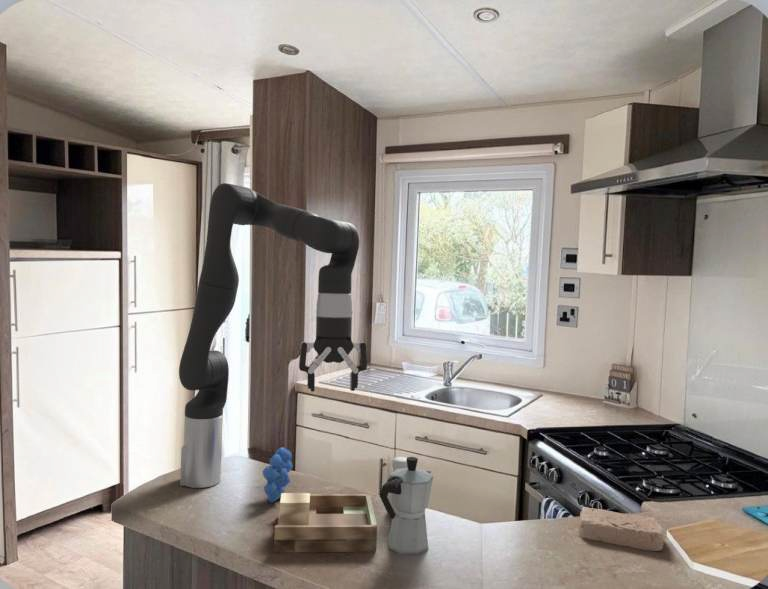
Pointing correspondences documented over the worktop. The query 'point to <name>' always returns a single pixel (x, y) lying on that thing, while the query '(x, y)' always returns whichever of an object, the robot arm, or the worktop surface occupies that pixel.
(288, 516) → the birch block
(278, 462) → the grapes
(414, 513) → the coffee maker
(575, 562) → the worktop surface
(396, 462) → the salt shaker
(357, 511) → the box
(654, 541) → the brick
